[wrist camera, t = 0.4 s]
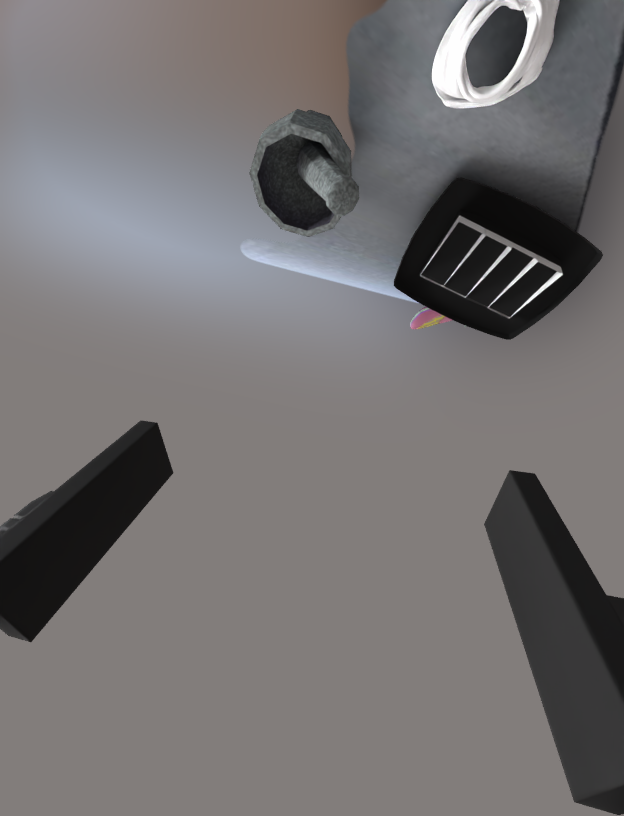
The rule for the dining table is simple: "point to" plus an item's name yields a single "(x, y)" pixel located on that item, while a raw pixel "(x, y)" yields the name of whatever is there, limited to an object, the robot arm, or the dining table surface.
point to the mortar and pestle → (304, 173)
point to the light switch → (492, 260)
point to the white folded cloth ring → (450, 57)
